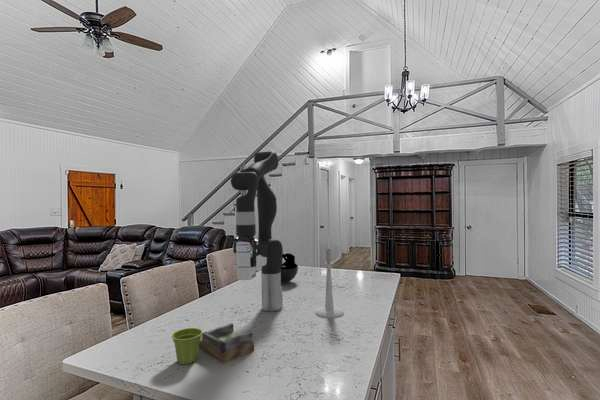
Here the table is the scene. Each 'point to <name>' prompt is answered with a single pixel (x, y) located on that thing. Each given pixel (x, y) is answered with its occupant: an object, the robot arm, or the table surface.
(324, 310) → the candlestick
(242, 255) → the syrup box
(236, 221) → the robot arm
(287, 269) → the bowl of black rocks
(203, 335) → the dock
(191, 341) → the plant pot
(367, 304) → the table surface
